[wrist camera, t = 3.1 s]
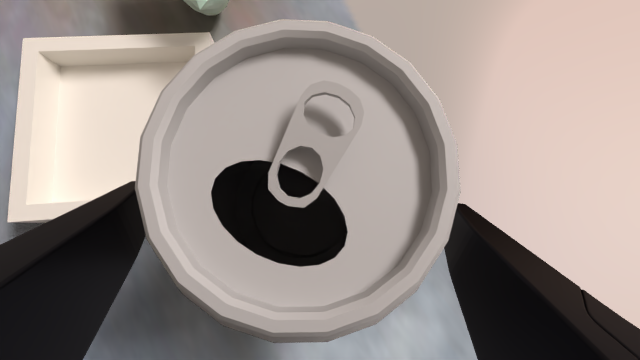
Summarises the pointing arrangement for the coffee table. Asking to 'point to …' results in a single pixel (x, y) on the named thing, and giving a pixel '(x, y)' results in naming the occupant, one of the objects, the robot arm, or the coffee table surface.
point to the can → (297, 180)
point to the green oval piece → (208, 6)
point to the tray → (86, 115)
